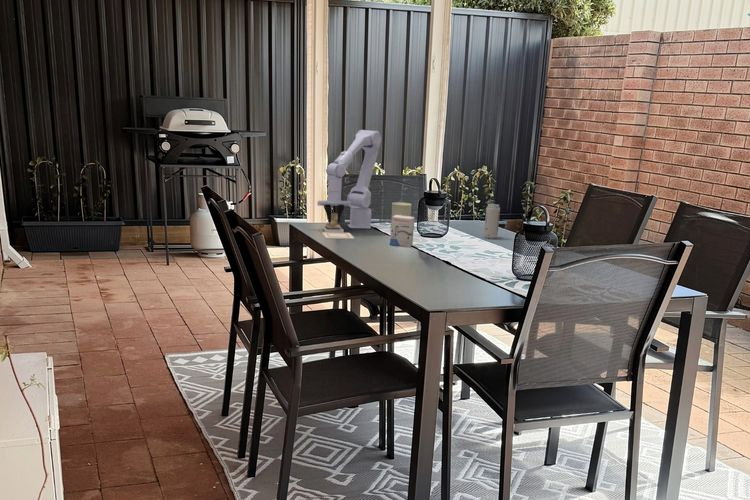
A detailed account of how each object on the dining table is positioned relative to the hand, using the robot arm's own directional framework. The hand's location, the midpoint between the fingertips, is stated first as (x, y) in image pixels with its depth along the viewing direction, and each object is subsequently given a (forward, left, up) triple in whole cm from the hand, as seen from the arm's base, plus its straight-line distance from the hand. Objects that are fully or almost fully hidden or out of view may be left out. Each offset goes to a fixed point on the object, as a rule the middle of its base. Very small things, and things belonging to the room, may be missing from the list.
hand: (333, 222), depth 295 cm
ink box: (-23, +30, -4) cm, 38 cm away
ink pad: (0, 0, -4) cm, 4 cm away
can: (-33, -9, -4) cm, 34 cm away
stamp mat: (0, +12, -4) cm, 13 cm away
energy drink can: (-69, +12, -4) cm, 70 cm away
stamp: (0, 0, -3) cm, 3 cm away
